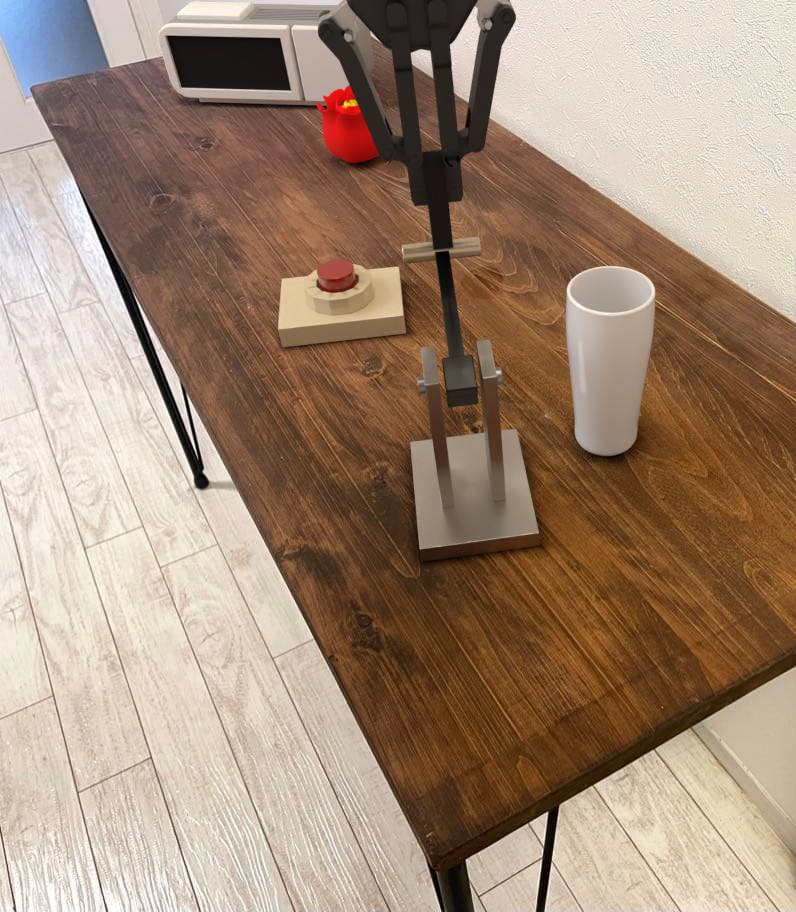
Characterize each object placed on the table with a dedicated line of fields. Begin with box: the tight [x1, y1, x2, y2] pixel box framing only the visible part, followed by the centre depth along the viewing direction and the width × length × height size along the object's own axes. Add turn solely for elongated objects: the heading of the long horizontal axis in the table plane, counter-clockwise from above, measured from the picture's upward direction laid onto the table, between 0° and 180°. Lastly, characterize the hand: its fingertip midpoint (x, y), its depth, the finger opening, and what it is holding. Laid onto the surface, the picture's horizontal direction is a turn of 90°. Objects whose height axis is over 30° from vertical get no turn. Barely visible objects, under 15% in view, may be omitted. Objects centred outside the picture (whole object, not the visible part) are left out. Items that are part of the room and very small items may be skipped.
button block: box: [277, 263, 407, 348], centre depth 92 cm, size 12×9×4 cm
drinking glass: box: [565, 265, 656, 457], centre depth 74 cm, size 7×7×15 cm
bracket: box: [409, 338, 541, 563], centre depth 69 cm, size 12×9×14 cm
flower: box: [316, 85, 382, 164], centre depth 116 cm, size 8×8×8 cm
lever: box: [401, 236, 482, 409], centre depth 68 cm, size 14×6×2 cm, turn 9°
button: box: [316, 258, 357, 293], centre depth 90 cm, size 4×4×2 cm
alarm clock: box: [157, 0, 376, 107], centre depth 130 cm, size 27×9×12 cm, turn 83°
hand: (442, 239), depth 71 cm, fingers closed
